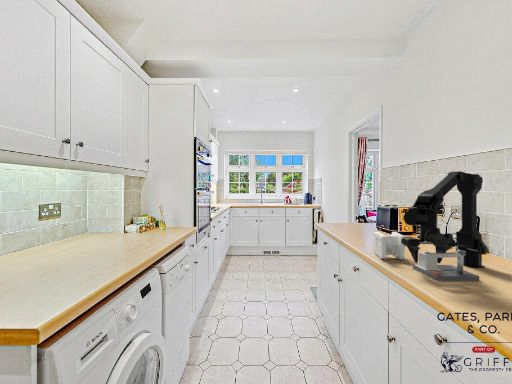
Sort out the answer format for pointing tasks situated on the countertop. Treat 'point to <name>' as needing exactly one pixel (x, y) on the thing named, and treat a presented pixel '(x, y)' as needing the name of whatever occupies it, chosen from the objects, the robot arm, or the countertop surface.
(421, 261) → the light grey block
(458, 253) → the grey bracket
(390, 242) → the cable organizer
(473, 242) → the robot arm
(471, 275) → the grey flat panel
